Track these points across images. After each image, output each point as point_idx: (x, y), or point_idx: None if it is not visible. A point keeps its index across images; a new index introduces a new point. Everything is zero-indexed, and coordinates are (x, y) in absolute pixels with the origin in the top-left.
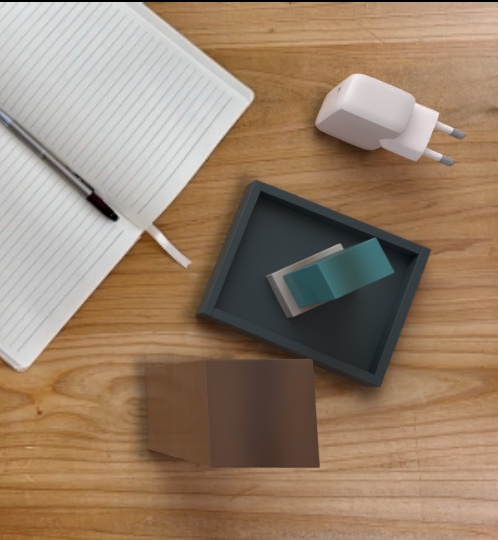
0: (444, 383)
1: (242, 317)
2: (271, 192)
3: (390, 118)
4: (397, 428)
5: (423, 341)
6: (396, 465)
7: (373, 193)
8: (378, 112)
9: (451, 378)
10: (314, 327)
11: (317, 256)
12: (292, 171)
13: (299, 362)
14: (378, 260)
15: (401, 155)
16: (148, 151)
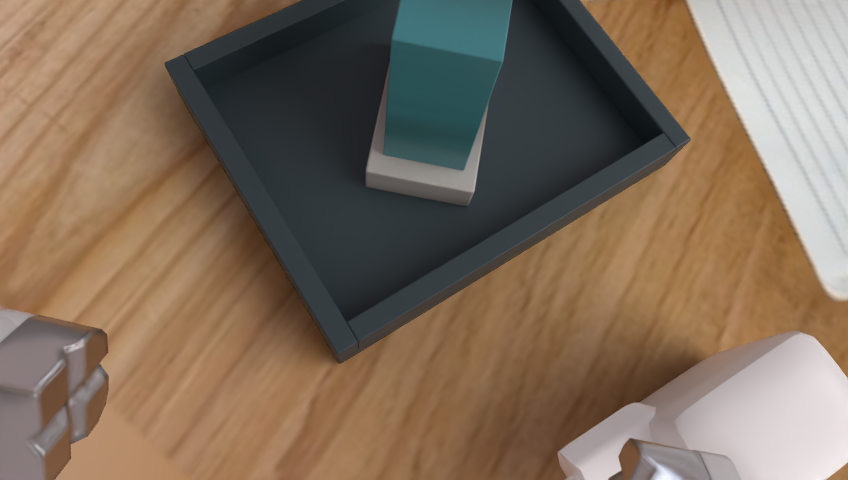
0: (70, 223)
1: None
2: (650, 145)
3: (728, 417)
4: (73, 90)
5: (173, 246)
6: (19, 44)
7: (513, 374)
8: (758, 400)
9: (67, 243)
10: (348, 74)
11: (477, 134)
12: (646, 258)
13: None
14: (445, 27)
15: (590, 429)
16: (809, 64)
